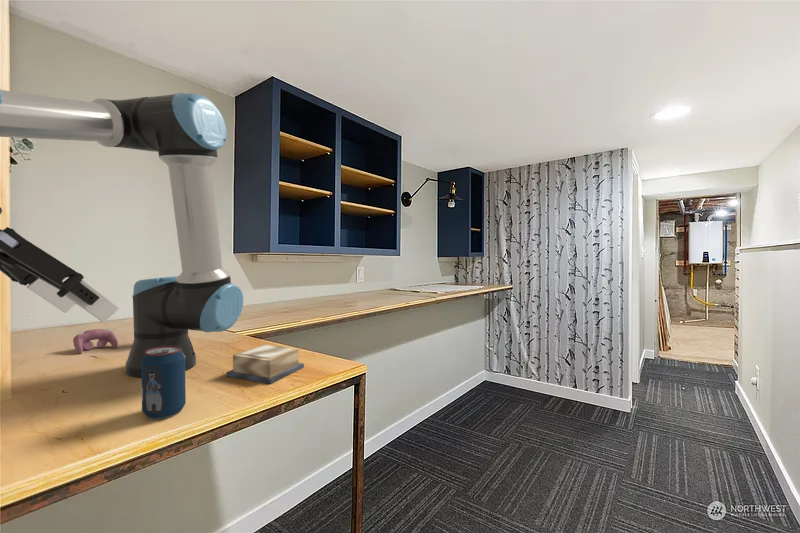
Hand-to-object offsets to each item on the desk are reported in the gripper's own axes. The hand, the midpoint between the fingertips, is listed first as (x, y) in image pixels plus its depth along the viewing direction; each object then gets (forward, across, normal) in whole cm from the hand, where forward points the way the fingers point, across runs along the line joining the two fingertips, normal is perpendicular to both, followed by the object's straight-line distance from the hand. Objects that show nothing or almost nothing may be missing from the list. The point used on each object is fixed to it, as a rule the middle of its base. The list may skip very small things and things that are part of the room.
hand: (90, 310), depth 60 cm
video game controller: (+31, -59, +2) cm, 67 cm away
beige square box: (+41, -3, +12) cm, 43 cm away
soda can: (+23, 0, -7) cm, 24 cm away
